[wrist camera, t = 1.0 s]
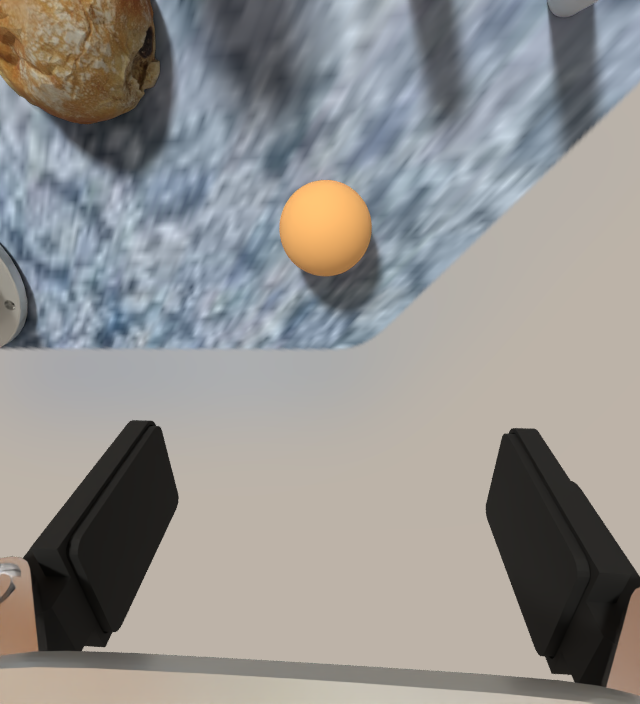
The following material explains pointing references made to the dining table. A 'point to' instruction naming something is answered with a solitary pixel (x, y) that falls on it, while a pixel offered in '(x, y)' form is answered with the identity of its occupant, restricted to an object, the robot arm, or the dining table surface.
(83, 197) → the dining table surface
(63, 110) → the bread roll
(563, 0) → the grey pin
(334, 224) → the ball
